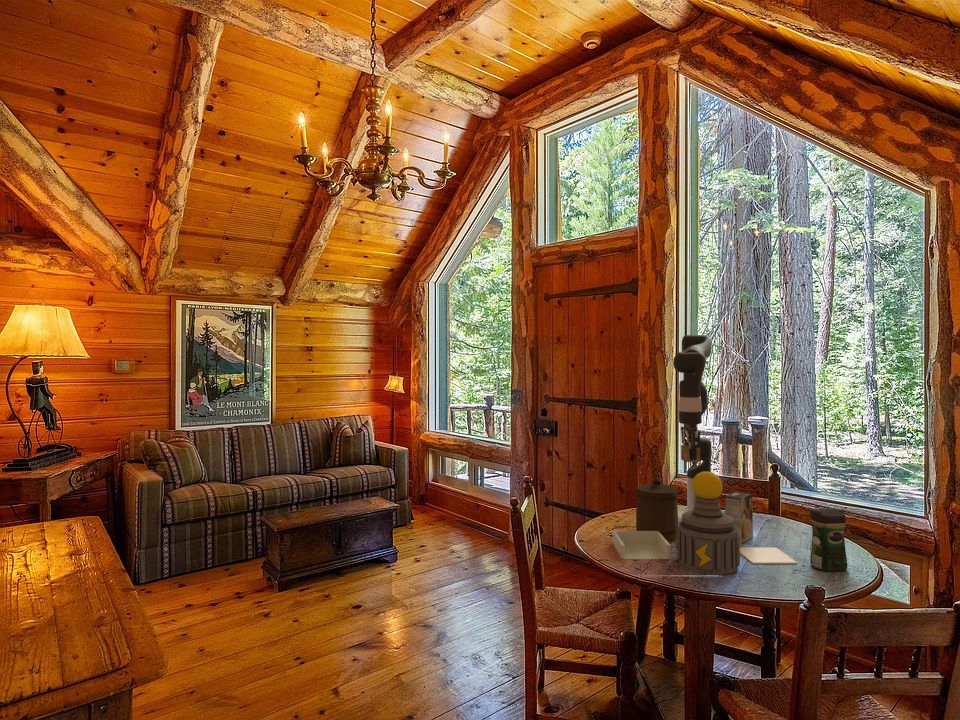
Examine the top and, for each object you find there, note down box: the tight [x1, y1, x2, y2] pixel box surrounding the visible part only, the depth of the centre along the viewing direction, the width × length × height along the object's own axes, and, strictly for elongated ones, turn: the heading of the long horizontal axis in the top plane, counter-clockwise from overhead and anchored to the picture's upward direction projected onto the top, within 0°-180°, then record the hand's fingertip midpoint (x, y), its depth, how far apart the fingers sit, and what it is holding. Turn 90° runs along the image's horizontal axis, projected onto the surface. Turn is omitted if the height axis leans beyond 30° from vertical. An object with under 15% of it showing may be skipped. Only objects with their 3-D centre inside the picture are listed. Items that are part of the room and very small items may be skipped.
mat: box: [740, 547, 798, 565], centre depth 188 cm, size 14×14×1 cm
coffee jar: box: [809, 507, 848, 572], centre depth 177 cm, size 10×8×19 cm
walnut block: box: [680, 444, 701, 463], centre depth 197 cm, size 5×5×5 cm
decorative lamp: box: [675, 471, 741, 576], centre depth 180 cm, size 19×19×30 cm
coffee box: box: [724, 491, 754, 544], centre depth 206 cm, size 9×6×16 cm
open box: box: [612, 530, 672, 560], centre depth 193 cm, size 15×16×5 cm
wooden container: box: [635, 476, 679, 543], centre depth 209 cm, size 15×15×22 cm
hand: (690, 458), depth 197 cm, fingers closed on walnut block, 5 cm apart
